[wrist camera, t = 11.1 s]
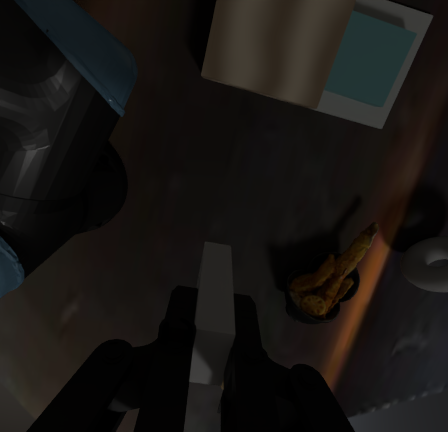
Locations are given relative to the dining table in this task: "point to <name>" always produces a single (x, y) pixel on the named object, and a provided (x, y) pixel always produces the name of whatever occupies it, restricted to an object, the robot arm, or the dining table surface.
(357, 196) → the dining table surface
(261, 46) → the serving board
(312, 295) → the fried shrimp in bowl
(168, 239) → the dining table surface
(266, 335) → the dining table surface
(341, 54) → the teal block
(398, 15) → the mat
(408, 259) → the donut
